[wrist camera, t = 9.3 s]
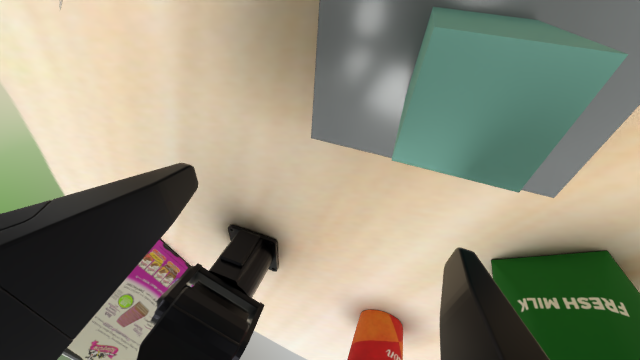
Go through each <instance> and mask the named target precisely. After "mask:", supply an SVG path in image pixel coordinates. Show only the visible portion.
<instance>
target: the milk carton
mask: <svg viewBox="0 0 640 360" xmlns="http://www.w3.org/2000/svg"><path fill="white" fill-rule="evenodd" d="M491 263H492V274H493V280H494V281H495V283H496V284H497V285H498V287H499V288H500V290H501V291H502V292H503V294H504V295H505V297H506V298H507V300H508V301H509V302H510V304H511V305H512V307H513V308H514V310H515V311H516V312H517V314H518V315H519V317H520V318H521V319H522V321H523V322H524V324H525V325H526V327H527V328H528V329H529V331H530V332H531V334H532V335H533V337H534V338H535V339H536V341H537V342H538V344H539V345H540V346H541V348H542V349H543V351H544V352H545V354H546V355H547V356H548V358H549V359H550V360H640V293H639V292H638V291H637V289H636V288H635V287H634V285H633V284H632V283H631V281H630V280H629V279H628V277H627V276H626V275H625V274H624V272H623V271H622V270H621V268H620V267H619V266H618V264H617V263H616V262H615V260H614V259H613V258H612V256H611V255H610V254H609V252H608V251H597V252H585V253H572V254H560V255H548V256H535V257H523V258H511V259H499V260H491Z"/></svg>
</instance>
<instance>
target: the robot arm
mask: <svg viewBox="0 0 640 360" xmlns="http://www.w3.org/2000/svg"><path fill="white" fill-rule="evenodd" d="M197 188H198V180H197V177H196V173H195V169H194V167H193V166H191V165H188V164H185V163H178V164H175V165H171V166H168V167H164V168H161V169H157V170H154V171H150V172H147V173H143V174H140V175H136V176H133V177H129V178H126V179H122V180H119V181H115V182H112V183H108V184H105V185H102V186H98V187H95V188H91V189H88V190H84V191H81V192H77V193H74V194H70V195H67V196H63V197H60V198H56V199H53V200H52V201H51V200H49V201H46V202H42V203H39V204H35V205H32V206H28V207H24V208H21V209H17V210H14V211H10V212H6V213H2V214H0V360H57V359H58V358H59V357H60V356H61V355H62V353H63V352H64V351H65V350H66V349H67V347H68V346H69V345H70V344H71V343H72V342H73V339H75V338H76V337H77V335H78V334H79V333H80V332H81V331H82V330H83V328H84V327H85V326H86V325H87V324H88V323H89V321H90V320H91V319H92V318H93V317H94V316H95V314H96V313H97V312H98V311H99V310H100V309H101V307H102V306H103V305H104V304H105V303H106V301H107V300H108V299H109V298H110V297H111V296H112V294H113V293H114V292H115V291H116V290H117V289H118V287H119V286H120V285H121V284H122V283H123V282H124V280H125V279H126V278H127V277H128V276H129V275H130V273H131V272H132V271H133V270H134V269H135V268H136V266H137V265H138V264H139V263H140V262H141V260H142V259H143V258H144V257H145V256H146V255H147V253H148V252H149V251H150V250H151V249H152V248H153V246H154V245H155V244H156V243H157V242H158V241H159V239H160V238H161V237H162V236H163V235H164V234H165V232H166V231H167V230H168V229H169V228H170V226H171V225H172V224H173V223H174V221H175V220H176V219H177V217H178V216H179V214H180V213H181V211H182V210H183V209H184V207H185V206H186V204H187V203H188V201H189V200H190V199H191V197H192V196H193V194H194V193H195V191H196V190H197ZM228 231H229V235H230V240H231V242H230V243H229V244H228V246H227V247H226V248H225V250H224V251H223V252H222V254H221V255H220V257H219V258H218V259H217V261H216V262H215V263H214V265H213V266H212V267H211V269H210V270H209V271H208V270H206V269H205V268H203V267H202V265H200V264H197V265H196V266H189V267H188V269H187V270H186V271H185V272H184V273H183V275H182V276H181V277H180V278H179V279H178V280H177V281H176V282H175V283H174V284H173V285H172V286H171V287H170V288H169V289H168V290H167V291H166V292H165V293H164V294H163V295H161V296H160V298H159V299H158V300H157V309H156V311H155V312H154V316H153V317H152V319H151V321H150V322H151V323H153V324H155V326H154V327H153V328H152V330H151V331H150V332H149V333H148V335H147V336H146V337H145V339H144V340H143V341H142V343H141V345H140V348H139V352H138V356H137V360H239V359H240V357H241V355H242V354H243V352H244V350H245V348H246V346H247V344H248V342H249V340H250V338H251V335H252V333H253V331H254V329H255V326H256V324H257V322H258V319H259V317H260V314H261V312H262V310H263V307H264V304H262V303H261V302H260V303H259V302H257V301H256V300H254V299H253V298H252V297H253V295H254V293H255V292H256V290H257V288H258V286H259V284H260V283H261V281H262V279H263V277H264V276H265V274H266V272H267V270H268V269H269V270H272V271H277V270H278V251H277V241H276V240H275V239H272V238H269V237H266V236H264V235H261V234H258V233H255V232H252V231H249V230H246V229H243V228H240V227H237V226H235V225H230V226H229V227H228ZM191 285H194V286H193V287H190V286H191ZM440 350H441V360H550V359H549V358H548V356H547V355H546V354H545V352H544V351H543V349H542V348H541V346H540V345H539V344H538V342H537V341H536V339H535V338H534V337H533V335H532V334H531V332H530V331H529V329H528V328H527V327H526V325H525V324H524V322H523V321H522V319H521V318H520V317H519V315H518V314H517V312H516V311H515V310H514V308H513V307H512V305H511V304H510V302H509V301H508V300H507V298H506V297H505V295H504V294H503V292H502V291H501V290H500V288H499V287H498V285H497V284H496V283H495V281H494V280H493V278H492V277H491V275H490V274H489V273H488V271H487V270H486V268H485V267H484V265H483V264H482V263H481V261H480V260H479V258H478V257H477V256H476V254H475V253H474V252H472V251H470V250H467V249H463V248H457V249H456V250H455V251H454V252H453V254H452V255H451V257H450V258H449V259H448V261H447V262H446V264H445V267H444V274H443V285H442V297H441V308H440Z"/></svg>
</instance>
